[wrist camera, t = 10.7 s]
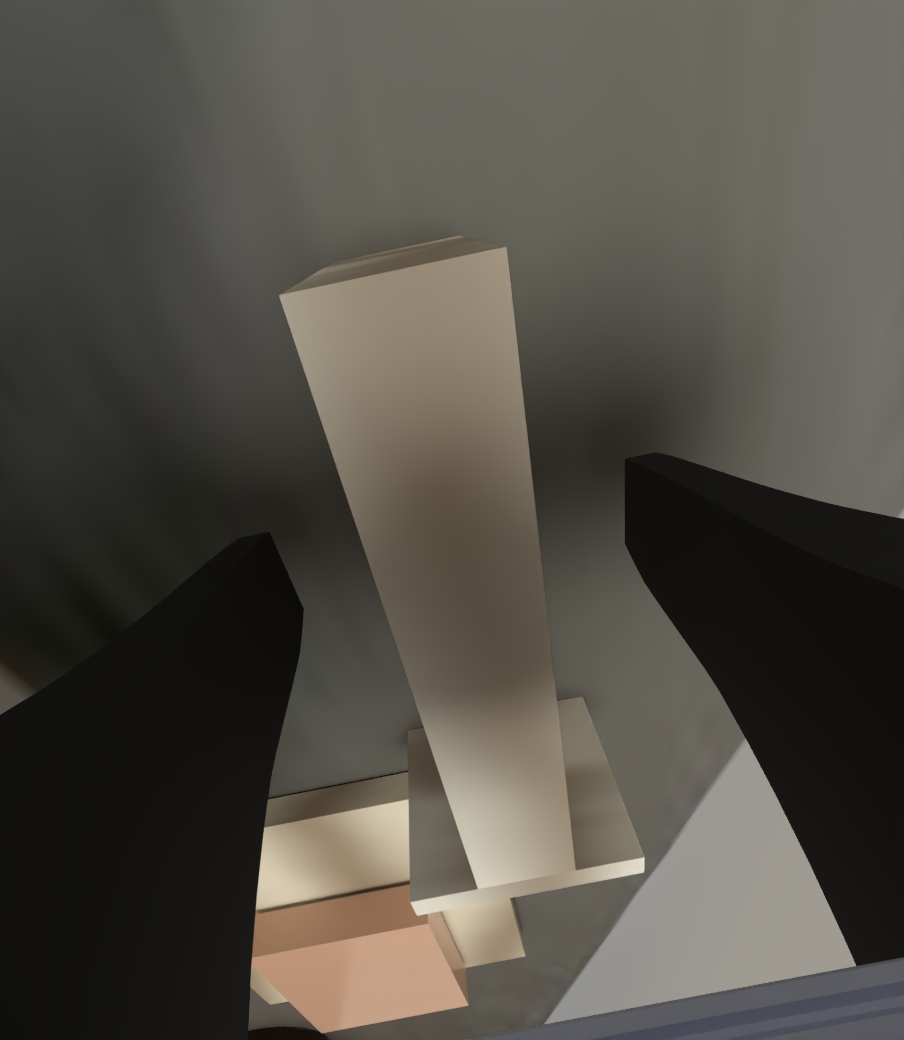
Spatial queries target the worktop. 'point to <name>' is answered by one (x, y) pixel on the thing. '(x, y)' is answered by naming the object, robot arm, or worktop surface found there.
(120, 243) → the worktop surface
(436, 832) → the tall cream square post
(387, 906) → the glazed tile
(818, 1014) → the robot arm
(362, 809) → the wooden board
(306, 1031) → the coffee mug
